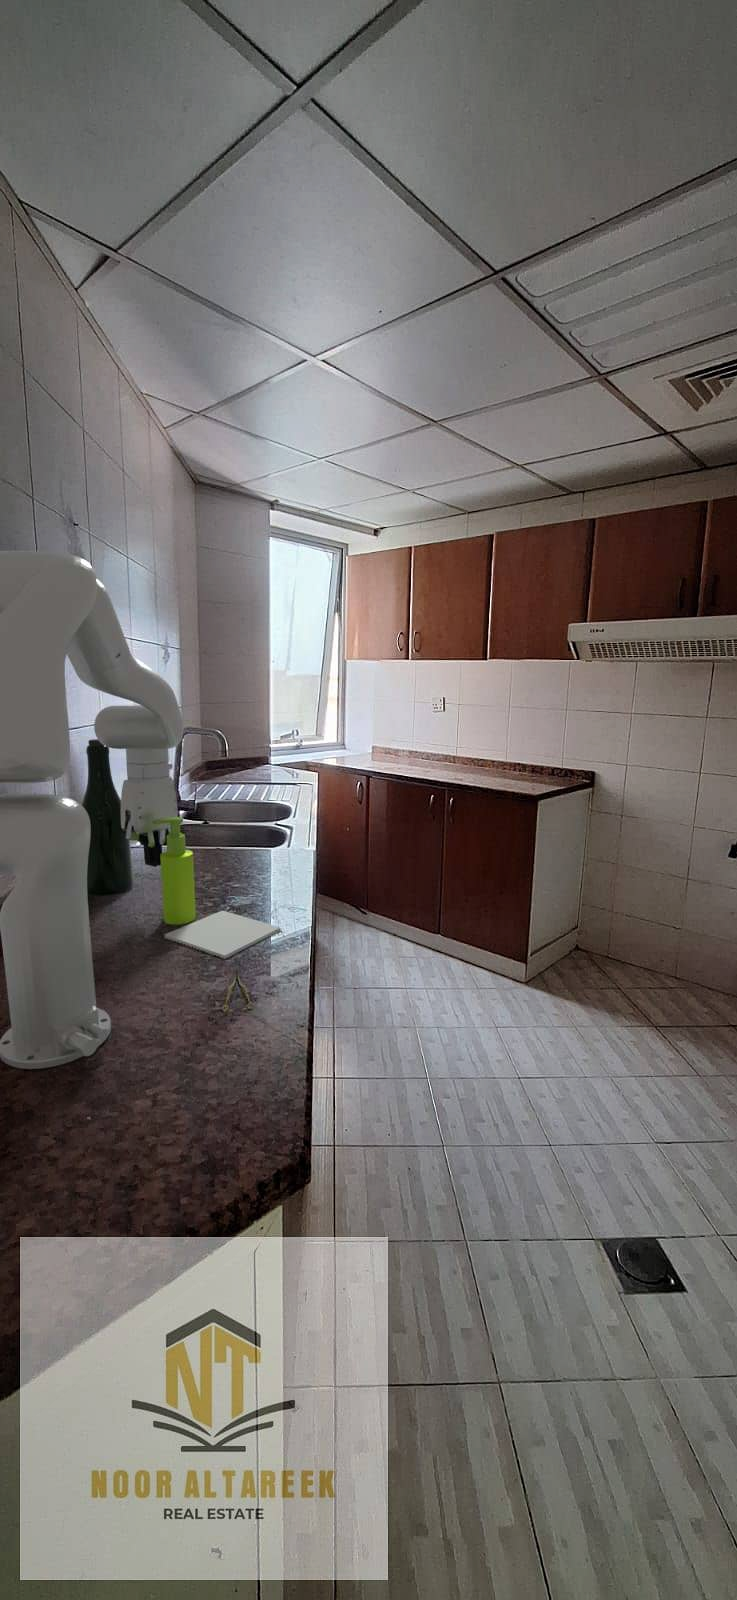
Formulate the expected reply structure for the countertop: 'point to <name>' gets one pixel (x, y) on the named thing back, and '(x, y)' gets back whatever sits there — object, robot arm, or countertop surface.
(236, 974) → the tongs
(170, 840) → the soap dispenser
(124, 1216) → the countertop surface
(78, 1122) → the countertop surface
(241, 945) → the grey mat
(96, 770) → the green wine bottle
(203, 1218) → the countertop surface
